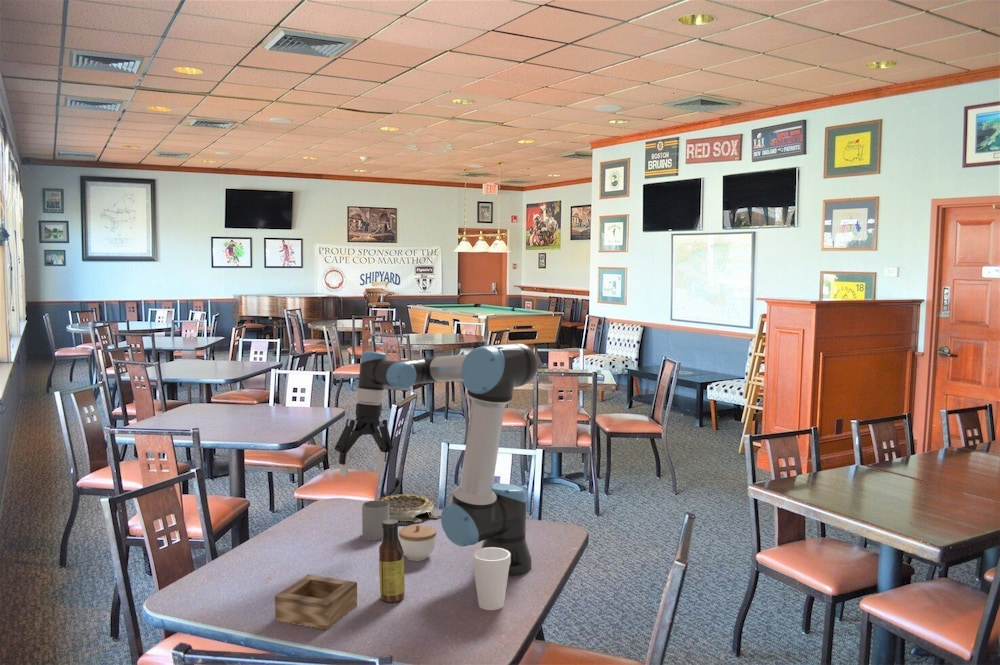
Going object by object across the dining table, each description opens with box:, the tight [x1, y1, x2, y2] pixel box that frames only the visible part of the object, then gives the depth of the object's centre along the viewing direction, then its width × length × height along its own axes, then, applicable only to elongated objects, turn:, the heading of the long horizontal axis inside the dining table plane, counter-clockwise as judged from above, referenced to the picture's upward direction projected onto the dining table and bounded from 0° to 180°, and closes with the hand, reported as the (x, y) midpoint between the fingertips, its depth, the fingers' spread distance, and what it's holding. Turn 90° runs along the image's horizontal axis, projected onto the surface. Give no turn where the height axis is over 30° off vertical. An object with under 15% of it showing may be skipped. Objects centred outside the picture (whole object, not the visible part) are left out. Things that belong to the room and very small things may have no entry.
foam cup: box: [472, 547, 511, 611], centre depth 193 cm, size 10×9×13 cm
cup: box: [361, 499, 389, 541], centre depth 243 cm, size 8×8×10 cm
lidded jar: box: [398, 524, 437, 562], centre depth 225 cm, size 11×11×9 cm
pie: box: [375, 493, 441, 526], centre depth 267 cm, size 28×27×5 cm
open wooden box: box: [274, 574, 358, 631], centre depth 188 cm, size 14×14×6 cm
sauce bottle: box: [378, 519, 406, 603], centre depth 197 cm, size 7×6×20 cm
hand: (361, 474), depth 231 cm, fingers open, 13 cm apart
